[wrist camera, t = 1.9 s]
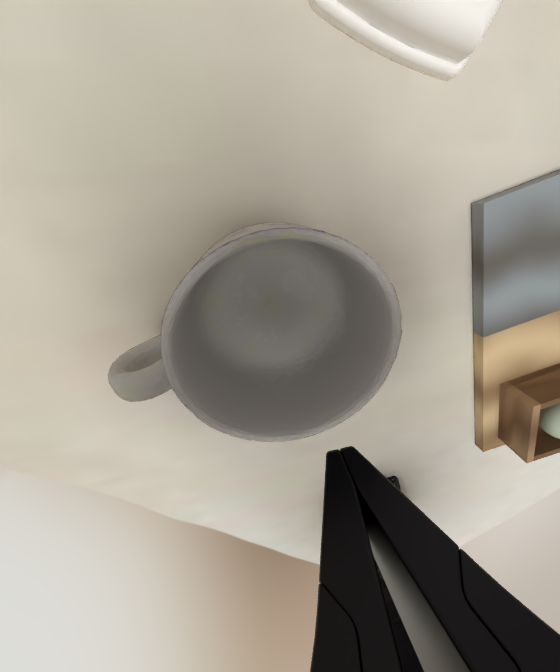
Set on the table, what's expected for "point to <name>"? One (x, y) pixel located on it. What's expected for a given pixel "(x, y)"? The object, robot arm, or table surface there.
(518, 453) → the walnut box
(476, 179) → the table surface
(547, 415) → the sage ball
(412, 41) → the soap
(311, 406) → the teacup
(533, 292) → the flat board
